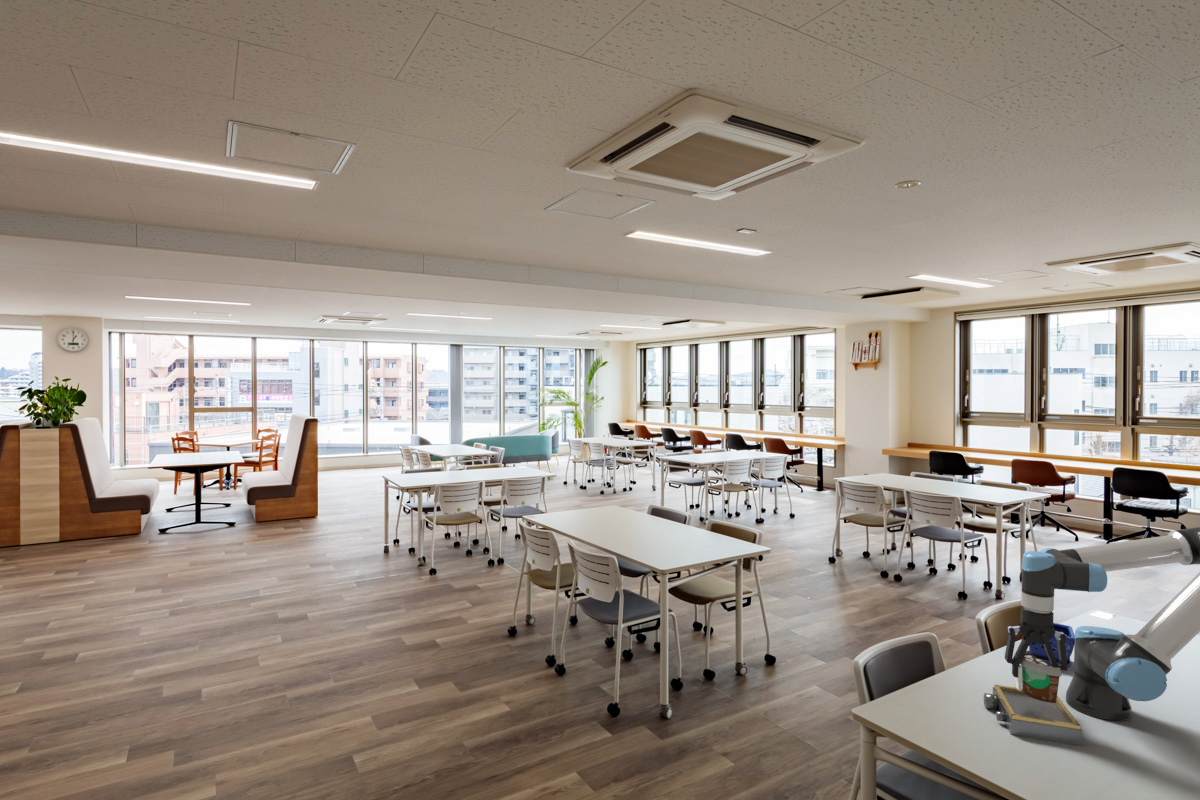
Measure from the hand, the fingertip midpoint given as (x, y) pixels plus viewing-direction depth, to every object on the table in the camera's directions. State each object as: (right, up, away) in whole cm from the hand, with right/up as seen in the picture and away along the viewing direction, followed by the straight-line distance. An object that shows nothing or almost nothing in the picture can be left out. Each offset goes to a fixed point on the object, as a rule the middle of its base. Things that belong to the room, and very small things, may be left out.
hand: (1034, 691), depth 180 cm
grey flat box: (-2, -9, +1) cm, 9 cm away
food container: (-1, -1, 0) cm, 1 cm away
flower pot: (+32, -9, +41) cm, 53 cm away
